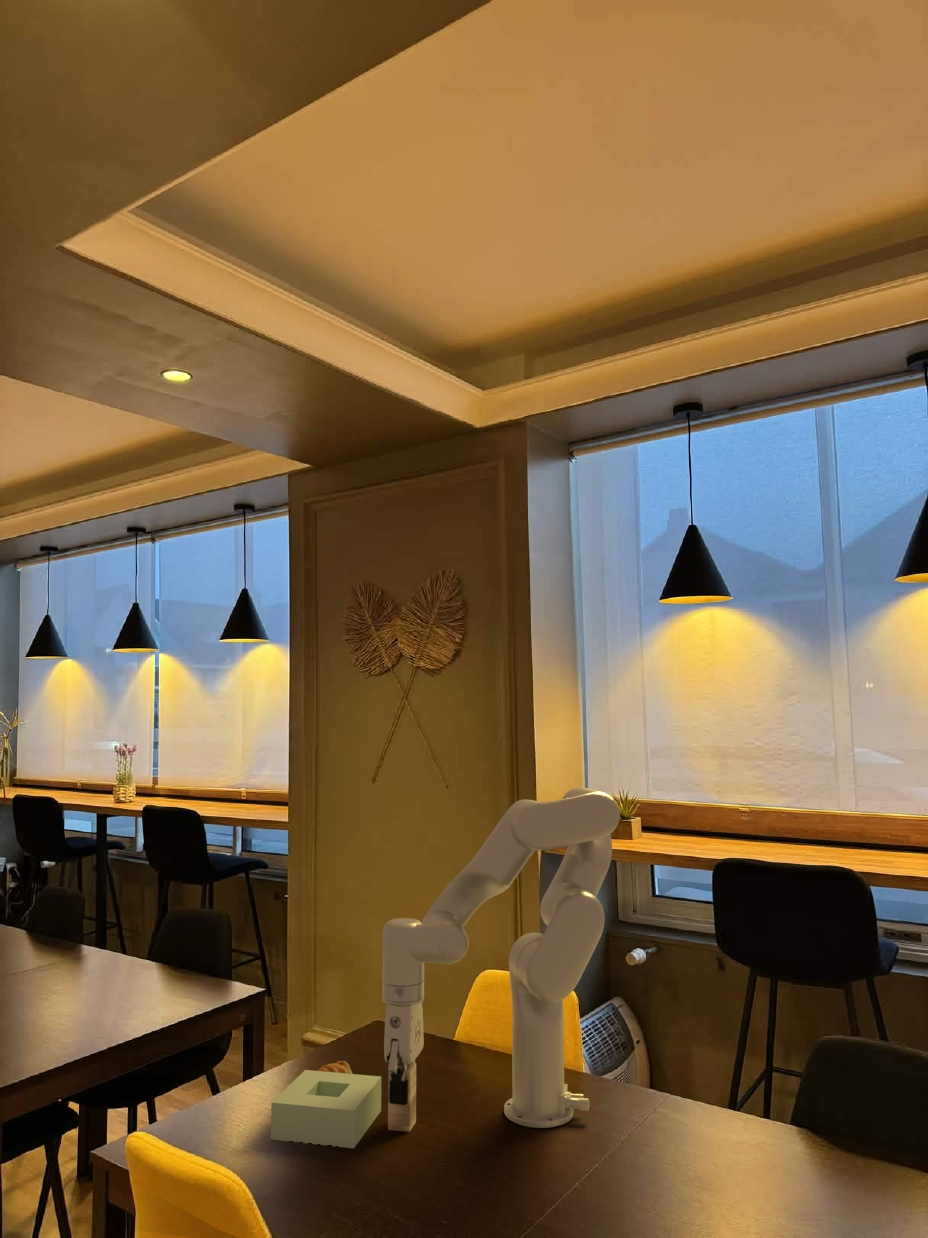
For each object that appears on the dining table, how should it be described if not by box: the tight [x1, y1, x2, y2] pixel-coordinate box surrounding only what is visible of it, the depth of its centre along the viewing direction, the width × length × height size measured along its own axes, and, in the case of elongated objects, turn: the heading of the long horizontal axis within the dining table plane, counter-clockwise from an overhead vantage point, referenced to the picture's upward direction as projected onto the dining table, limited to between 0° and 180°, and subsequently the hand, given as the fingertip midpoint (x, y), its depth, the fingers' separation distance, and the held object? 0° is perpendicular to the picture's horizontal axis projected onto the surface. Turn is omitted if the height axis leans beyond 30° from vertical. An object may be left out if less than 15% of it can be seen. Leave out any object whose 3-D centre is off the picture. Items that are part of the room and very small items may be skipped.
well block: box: [270, 1069, 382, 1149], centre depth 159 cm, size 15×15×6 cm
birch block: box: [387, 1062, 417, 1133], centre depth 159 cm, size 4×4×10 cm
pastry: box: [316, 1060, 353, 1074], centre depth 177 cm, size 9×7×4 cm
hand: (402, 1097), depth 159 cm, fingers closed on birch block, 4 cm apart
